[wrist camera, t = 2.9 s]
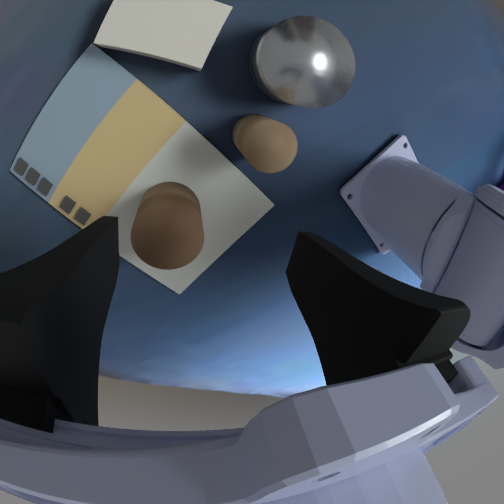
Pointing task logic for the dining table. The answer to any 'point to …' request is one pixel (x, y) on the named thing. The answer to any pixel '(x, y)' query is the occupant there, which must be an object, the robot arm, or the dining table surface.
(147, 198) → the walnut cylinder
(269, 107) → the dining table surface
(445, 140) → the dining table surface
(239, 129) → the cork
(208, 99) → the dining table surface
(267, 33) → the tin
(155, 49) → the soap bar
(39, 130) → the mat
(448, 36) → the dining table surface
